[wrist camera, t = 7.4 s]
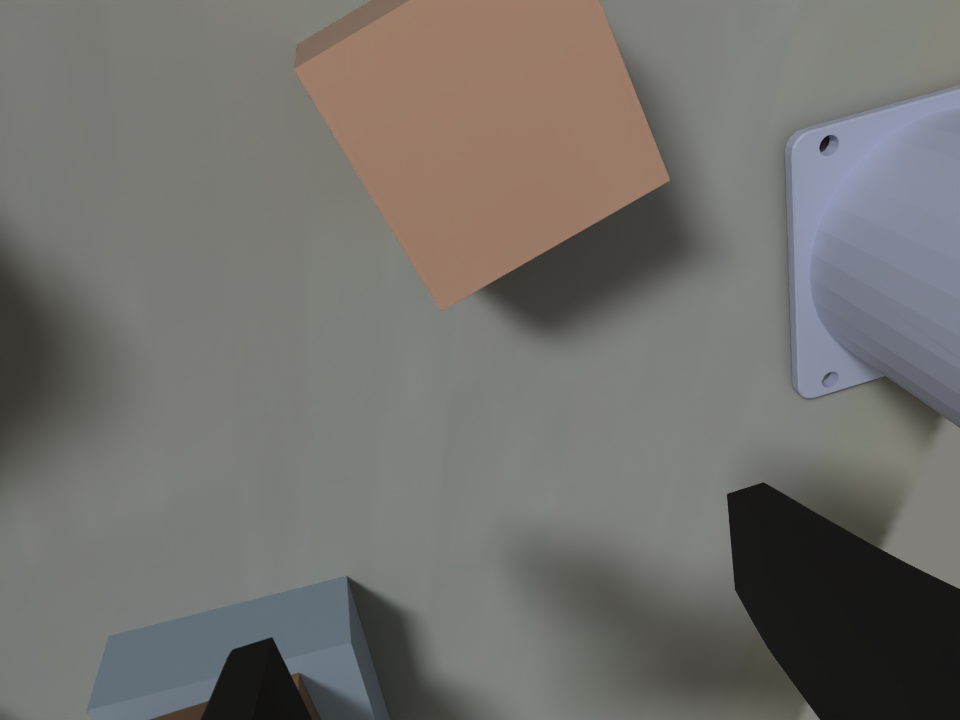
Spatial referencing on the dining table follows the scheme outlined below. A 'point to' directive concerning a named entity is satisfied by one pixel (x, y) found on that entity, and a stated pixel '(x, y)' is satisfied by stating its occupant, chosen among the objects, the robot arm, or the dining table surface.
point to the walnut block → (191, 716)
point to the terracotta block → (482, 127)
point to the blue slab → (213, 634)
